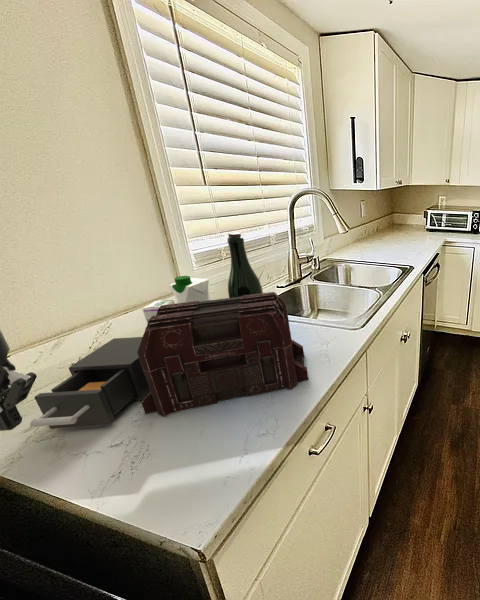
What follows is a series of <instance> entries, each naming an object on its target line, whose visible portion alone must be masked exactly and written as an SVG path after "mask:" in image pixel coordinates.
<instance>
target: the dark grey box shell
mask: <svg viewBox="0 0 480 600" xmlns="http://www.w3.org/2000/svg"><path fill="white" fill-rule="evenodd" d="M142 337H143V336H133V337H116V338H115V337H114V338H112V339H110V340H109V341H107V342H106V343H104V344H103V345H101V346H100V347H98V348H97V349H95V350H94V351H92V352H90V353H89V354H88V355H86V356H84V357H83V358H81V359H80V360H78V361H77V362H75V363H73V364H72V365H70V366H69V367H68V370H69V373H70V376H72V375H74V374H75V373H77V372H78V371H80V370H97V369H114V368H128V371H129V373H130V376H131V379H132V382H133V384H134V387H135V390H136V392H137V395H136V396H135V397H134V398H132V399H131V400H130V401H129V402H136V401H137V402H138V401H143V399H144V398H145V397H146V396H147V395H148V393H149V392H150V389H149V386H148V383H147V380H146V377H145V374H144V371H143V369H142V366H141V363H140V360H139V357H138V354H137V351H138V349H139V346H140V343H141V340H142Z"/></svg>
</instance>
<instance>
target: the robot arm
mask: <svg viewBox="0 0 480 600" xmlns="http://www.w3.org/2000/svg"><path fill="white" fill-rule="evenodd" d="M10 349H11V348H10V346H9V344H8V342H7V340H6V338H5V336H4V334H3V332H2V331H1V329H0V432H3V431H4V432H5V431H12V430H14V429H15V428H16V427H18V426H19V425H20V424H21V423H22V421H23V417H22V415H21V413H20V411H19V409H18V408H17V405H19V404H20V403H22V402H23V401H24V400H25V399H28V396H29V394H30V393H31V389H32V387H33V386H34V384H35V381H36V379H37V374H36V373H35V372H32V371H31V372H28V373H26V374H24V373H22V372H20V371H18V370H17V369H16V366H15V365H14V364H13V363H12V362H11V361H10V360H9V359H8V355H9V353H10V351H11V350H10Z"/></svg>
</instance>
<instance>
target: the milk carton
mask: <svg viewBox="0 0 480 600" xmlns="http://www.w3.org/2000/svg"><path fill="white" fill-rule="evenodd" d="M209 285H210V280H209V278H195V277H194V278H193V277H191V276H189V275H180V276H176V277H175V278H174V282H173V283H171V284H169V285H168V287H169V288H170V291H171V292H172V294H173V296H174V298H175V301H176V302H175V303H185V302H193V301H199V302H201V301H209V300H211V295H210V289H209V287H210V286H209Z"/></svg>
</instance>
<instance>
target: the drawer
mask: <svg viewBox="0 0 480 600" xmlns="http://www.w3.org/2000/svg"><path fill="white" fill-rule="evenodd" d="M90 382H105V383H104V384H103V385H101V386H100V388H101V389H100V390H84V391H78V390H80V389H81V388H82V387H84V386H85V385H86V384H88V383H90ZM136 395H137V392H136V390H135V387H134V384H133V382H132V379H131V376H130V373H129V371H128V368H114V369H97V370H80V371H78V372H77V373H75V374H74V375H70V376H69V377H67V378H66V379H65V380H63V381H62V382H60V383H59V384H58V385H56V386H54V387H53V388H51V392H39V393H38V394H36V395H35V396H33V398H34V400H35V401H36V404H37V406H38V408H39V409H40V412H41V414H42V415H41V416H40V417H38V418H33V419H31V420H30V422H29V426H30V427H32V428H34V427H35V428H36V427H37V428H38V427H48V428H49V429H50V430H54V429H55V430H56V429H67V428H69V429H71V428H82V427H83V428H85V427H98V426H110V425H112V424H113V423H114V422H115V421H116V419H115V417H114V416H116V415H117V414H118V413H119V412H120V411H121V410H122V409H123V408H124V407H125V406H126V405H127V404H129V403H130V402H131V401H130V400H131V399H132V398H134V397H135V396H136Z"/></svg>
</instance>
